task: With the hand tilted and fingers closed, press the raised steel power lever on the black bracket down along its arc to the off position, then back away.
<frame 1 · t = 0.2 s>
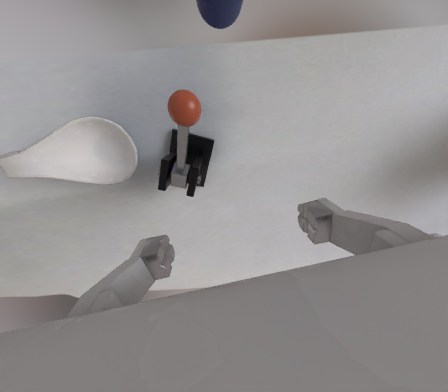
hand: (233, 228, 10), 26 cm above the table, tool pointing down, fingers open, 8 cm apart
switch bracket: (189, 159, 34), on the table
spoon rest: (84, 154, 32), on the table
power lever: (182, 148, 20), point 14 cm above the table, hinge at 30.0°
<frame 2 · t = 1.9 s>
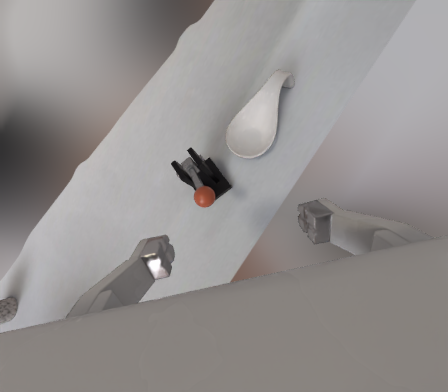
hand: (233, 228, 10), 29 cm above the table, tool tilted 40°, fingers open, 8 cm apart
switch bracket: (208, 182, 42), on the table
mug: (7, 313, 50), on the table
spoon rest: (262, 122, 42), on the table
power lever: (196, 180, 28), point 14 cm above the table, hinge at 30.0°
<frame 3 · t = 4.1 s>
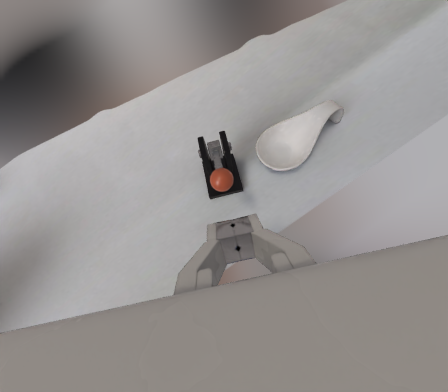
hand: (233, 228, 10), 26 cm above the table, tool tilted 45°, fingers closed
switch bracket: (222, 176, 40), on the table
spoon rest: (296, 142, 41), on the table
power lever: (217, 163, 26), point 14 cm above the table, hinge at 30.0°
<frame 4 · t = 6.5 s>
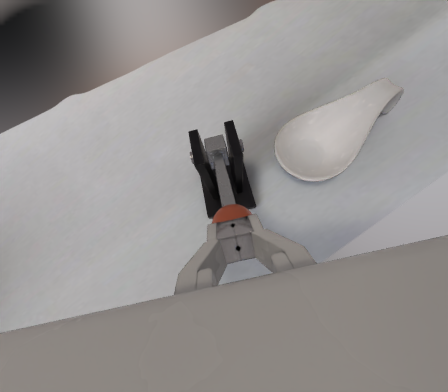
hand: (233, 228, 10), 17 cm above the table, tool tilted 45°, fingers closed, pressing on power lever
switch bracket: (225, 186, 29), on the table
spoon rest: (328, 140, 30), on the table
power lever: (223, 181, 15), point 13 cm above the table, hinge at 23.3°, touching gripper
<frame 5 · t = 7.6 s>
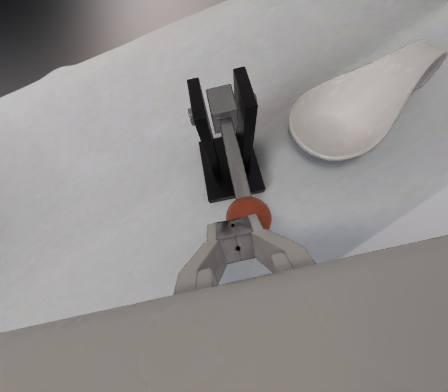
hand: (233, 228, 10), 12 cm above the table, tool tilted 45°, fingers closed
switch bracket: (230, 167, 25), on the table
spoon rest: (349, 117, 26), on the table
power lever: (234, 159, 13), point 11 cm above the table, hinge at -1.4°, touching gripper
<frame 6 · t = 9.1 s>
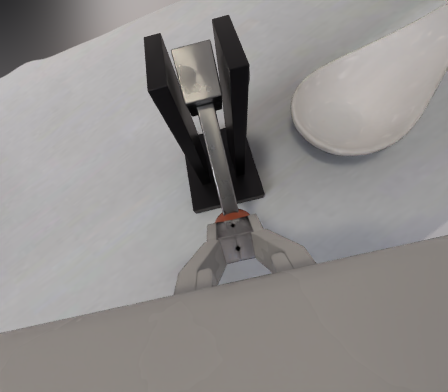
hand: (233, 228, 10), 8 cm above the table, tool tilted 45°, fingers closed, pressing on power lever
switch bracket: (220, 168, 20), on the table
spoon rest: (363, 105, 21), on the table
power lever: (219, 164, 11), point 8 cm above the table, hinge at -30.5°, touching gripper
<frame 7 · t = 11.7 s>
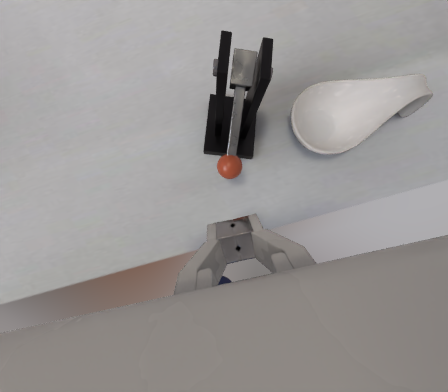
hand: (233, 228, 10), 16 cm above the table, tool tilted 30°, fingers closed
switch bracket: (230, 128, 28), on the table
spoon rest: (342, 122, 30), on the table
power lever: (235, 125, 19), point 8 cm above the table, hinge at -30.6°
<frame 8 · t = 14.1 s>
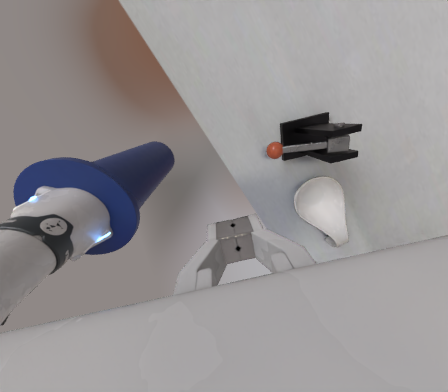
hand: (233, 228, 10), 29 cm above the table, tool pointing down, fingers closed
switch bracket: (302, 137, 36), on the table
spoon rest: (317, 209, 45), on the table
power lever: (303, 147, 29), point 8 cm above the table, hinge at -30.6°
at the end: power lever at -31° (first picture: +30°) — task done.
